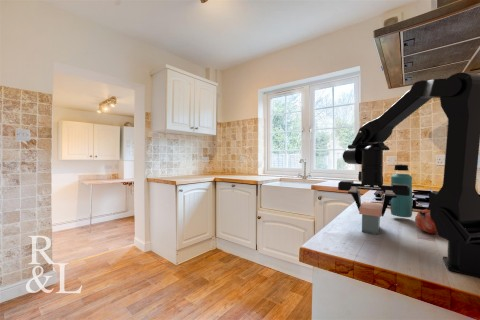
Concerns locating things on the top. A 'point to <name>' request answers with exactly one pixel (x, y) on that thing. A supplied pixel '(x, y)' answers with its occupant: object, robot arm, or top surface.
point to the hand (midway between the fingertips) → (371, 214)
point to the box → (370, 224)
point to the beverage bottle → (402, 203)
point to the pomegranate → (425, 222)
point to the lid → (371, 209)
